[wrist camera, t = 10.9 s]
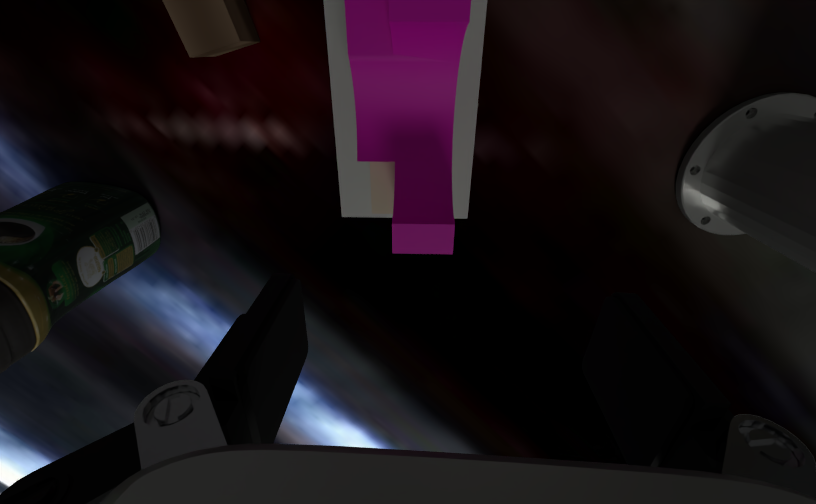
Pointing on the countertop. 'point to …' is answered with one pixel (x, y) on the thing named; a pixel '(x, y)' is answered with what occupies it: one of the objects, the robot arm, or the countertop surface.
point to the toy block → (409, 108)
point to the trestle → (374, 181)
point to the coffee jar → (66, 256)
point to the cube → (212, 25)
